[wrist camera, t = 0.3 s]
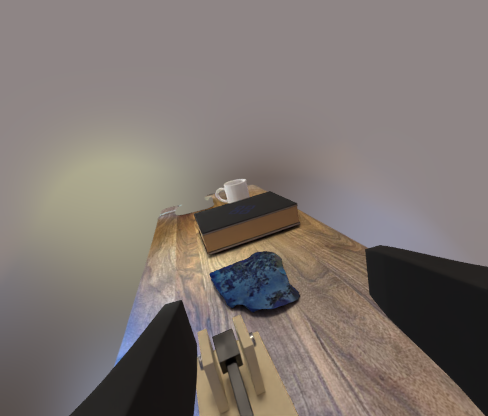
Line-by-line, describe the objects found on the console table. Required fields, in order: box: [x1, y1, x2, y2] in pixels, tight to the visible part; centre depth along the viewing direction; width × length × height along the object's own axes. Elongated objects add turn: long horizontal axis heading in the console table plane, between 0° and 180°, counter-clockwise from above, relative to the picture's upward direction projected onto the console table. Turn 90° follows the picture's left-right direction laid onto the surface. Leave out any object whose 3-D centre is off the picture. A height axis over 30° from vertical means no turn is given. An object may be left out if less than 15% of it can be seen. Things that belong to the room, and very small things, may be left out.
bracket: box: [196, 315, 299, 416], centre depth 26 cm, size 11×9×8 cm
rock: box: [210, 251, 300, 312], centre depth 44 cm, size 15×17×2 cm
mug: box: [215, 179, 249, 204], centre depth 87 cm, size 8×12×10 cm, turn 97°
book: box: [194, 191, 300, 255], centre depth 67 cm, size 17×25×7 cm
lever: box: [212, 329, 254, 416], centre depth 21 cm, size 13×3×3 cm, turn 18°
